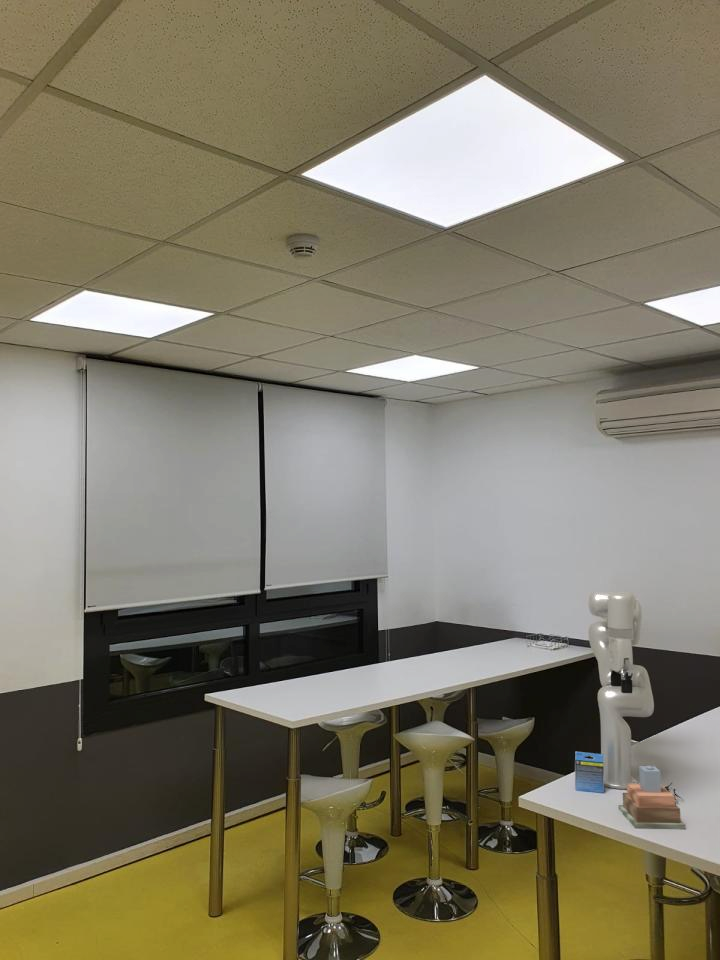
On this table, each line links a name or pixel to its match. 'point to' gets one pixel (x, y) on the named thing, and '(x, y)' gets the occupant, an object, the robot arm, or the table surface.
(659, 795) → the stepped plate stack
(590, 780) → the label tape box
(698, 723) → the table surface
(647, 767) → the slate brick
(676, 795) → the creature
